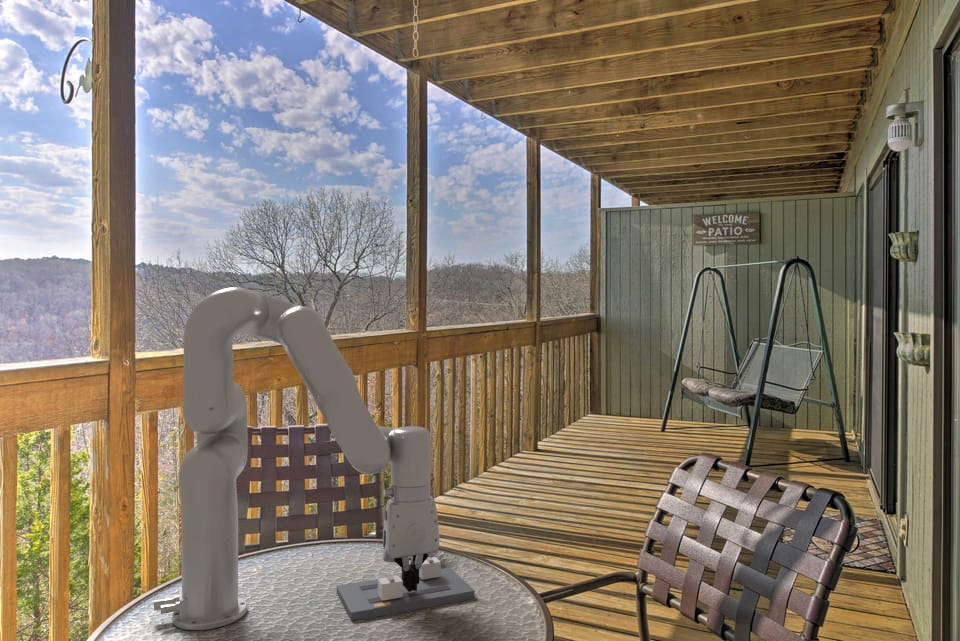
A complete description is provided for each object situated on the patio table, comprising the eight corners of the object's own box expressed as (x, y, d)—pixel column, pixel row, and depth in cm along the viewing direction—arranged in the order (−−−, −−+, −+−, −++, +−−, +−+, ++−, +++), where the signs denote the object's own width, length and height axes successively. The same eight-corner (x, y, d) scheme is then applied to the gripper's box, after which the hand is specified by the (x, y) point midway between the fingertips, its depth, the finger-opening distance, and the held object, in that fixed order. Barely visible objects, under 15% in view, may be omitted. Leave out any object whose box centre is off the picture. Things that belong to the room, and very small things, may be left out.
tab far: (421, 579, 131) (421, 561, 131) (417, 574, 134) (417, 556, 134) (440, 576, 133) (440, 558, 133) (435, 571, 135) (435, 554, 135)
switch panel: (351, 621, 117) (351, 612, 117) (336, 593, 129) (336, 585, 129) (474, 598, 127) (474, 590, 127) (450, 574, 139) (450, 567, 139)
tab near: (381, 600, 121) (381, 581, 121) (377, 594, 124) (377, 575, 124) (402, 597, 123) (402, 577, 123) (398, 591, 126) (398, 572, 126)
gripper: (377, 501, 119) (377, 603, 119) (454, 493, 125) (454, 589, 125) (367, 491, 125) (367, 587, 125) (440, 484, 132) (440, 575, 131)
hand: (410, 588), depth 125 cm, fingers closed
